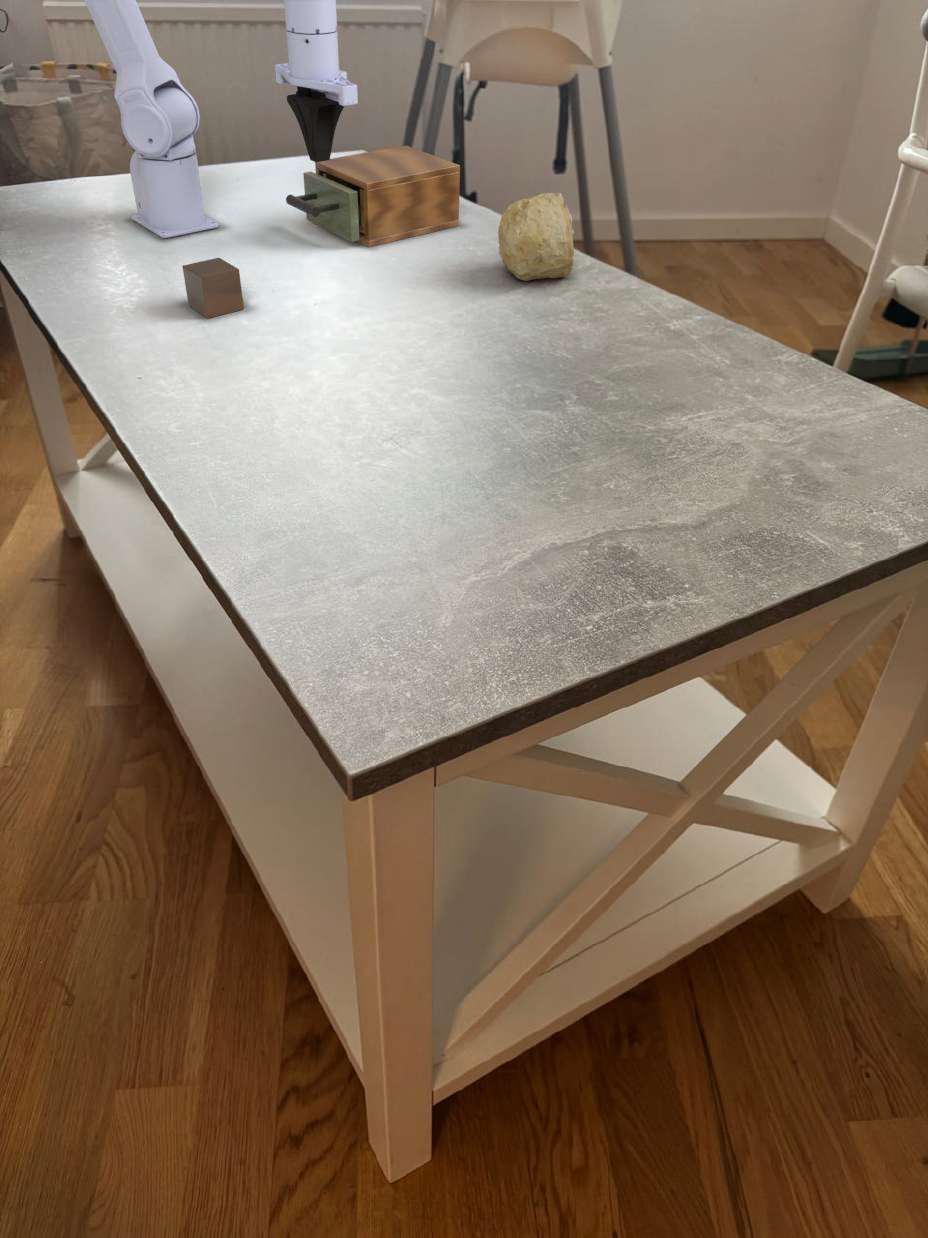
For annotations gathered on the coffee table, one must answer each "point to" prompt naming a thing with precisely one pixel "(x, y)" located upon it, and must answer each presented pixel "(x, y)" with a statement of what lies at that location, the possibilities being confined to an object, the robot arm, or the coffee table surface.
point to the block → (213, 287)
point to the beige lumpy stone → (537, 237)
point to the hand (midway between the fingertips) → (320, 159)
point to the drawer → (332, 204)
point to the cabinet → (400, 191)
